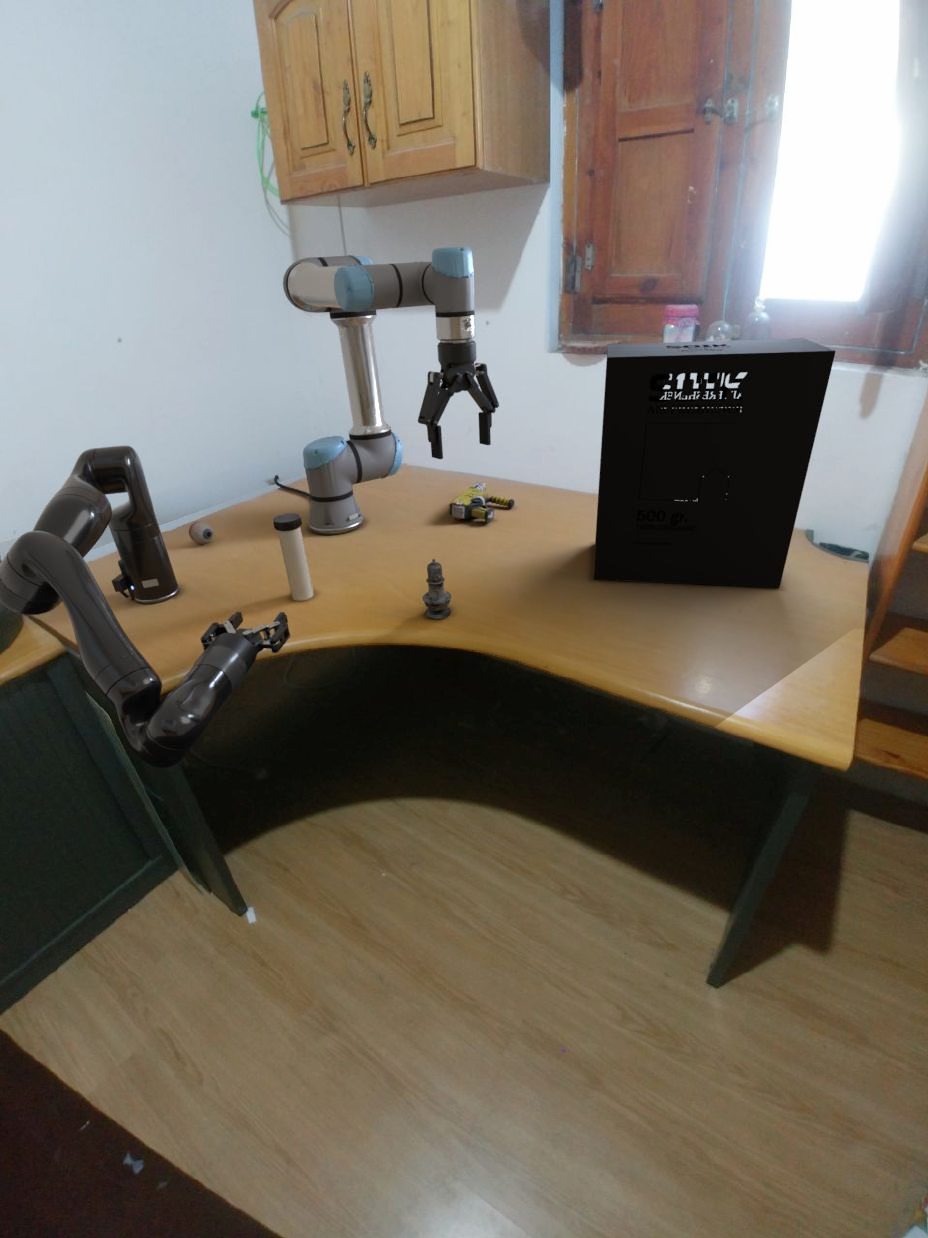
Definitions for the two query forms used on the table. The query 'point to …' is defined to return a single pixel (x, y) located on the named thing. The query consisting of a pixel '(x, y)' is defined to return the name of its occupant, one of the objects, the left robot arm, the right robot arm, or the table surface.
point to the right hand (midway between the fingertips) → (461, 450)
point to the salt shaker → (436, 593)
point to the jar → (296, 564)
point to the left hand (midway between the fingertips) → (262, 615)
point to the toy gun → (476, 504)
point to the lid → (287, 522)
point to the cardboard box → (706, 459)
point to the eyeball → (201, 532)
